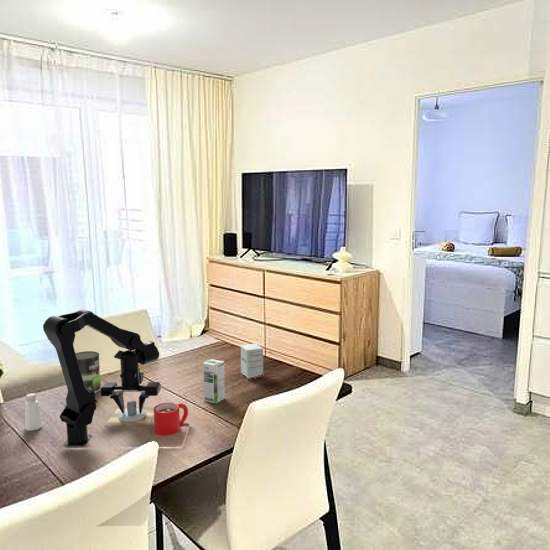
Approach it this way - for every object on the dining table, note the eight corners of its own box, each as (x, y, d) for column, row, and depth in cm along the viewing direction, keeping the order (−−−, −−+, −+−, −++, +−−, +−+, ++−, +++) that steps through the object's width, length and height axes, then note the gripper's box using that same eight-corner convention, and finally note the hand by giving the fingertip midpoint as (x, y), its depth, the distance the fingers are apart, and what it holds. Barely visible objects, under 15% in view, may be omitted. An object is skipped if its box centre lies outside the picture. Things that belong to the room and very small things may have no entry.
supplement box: (240, 374, 201) (240, 345, 199) (256, 371, 204) (256, 342, 202) (247, 380, 195) (246, 350, 193) (263, 377, 198) (263, 347, 196)
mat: (148, 427, 154) (148, 425, 154) (104, 427, 154) (104, 426, 154) (158, 408, 168) (157, 407, 168) (117, 408, 168) (117, 407, 168)
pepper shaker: (38, 421, 159) (35, 389, 157) (46, 426, 155) (43, 394, 153) (21, 427, 154) (18, 395, 153) (28, 432, 151) (25, 399, 149)
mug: (195, 425, 156) (194, 402, 154) (164, 439, 147) (163, 415, 145) (179, 418, 161) (179, 396, 159) (149, 431, 152) (148, 408, 150)
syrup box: (203, 401, 174) (202, 363, 172) (212, 395, 179) (211, 358, 177) (216, 404, 172) (215, 365, 169) (225, 398, 177) (224, 360, 175)
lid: (142, 422, 157) (141, 408, 156) (114, 422, 157) (113, 408, 156) (148, 410, 166) (148, 397, 165) (122, 410, 165) (121, 397, 165)
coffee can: (106, 386, 189) (104, 351, 186) (91, 396, 179) (89, 360, 176) (82, 384, 191) (80, 350, 188) (66, 394, 181) (64, 358, 178)
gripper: (163, 360, 167) (165, 402, 169) (109, 360, 166) (111, 403, 169) (156, 371, 156) (158, 417, 158) (98, 372, 155) (101, 417, 158)
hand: (132, 413), depth 161 cm, fingers open, 5 cm apart
